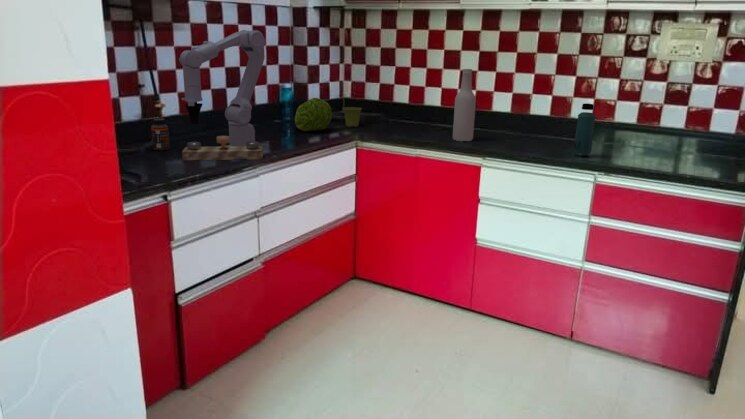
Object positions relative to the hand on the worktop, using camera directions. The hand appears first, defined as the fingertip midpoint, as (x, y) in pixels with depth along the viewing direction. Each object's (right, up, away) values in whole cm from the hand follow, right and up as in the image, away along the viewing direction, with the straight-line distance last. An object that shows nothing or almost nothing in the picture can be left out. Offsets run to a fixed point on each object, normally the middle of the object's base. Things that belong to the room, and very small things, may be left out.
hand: (195, 124), depth 203 cm
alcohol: (+103, -1, +41) cm, 111 cm away
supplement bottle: (-15, -9, +7) cm, 19 cm away
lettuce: (+36, +6, +58) cm, 68 cm away
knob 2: (+21, -11, -2) cm, 24 cm away
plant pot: (+54, +10, +72) cm, 91 cm away
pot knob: (+12, -9, -4) cm, 15 cm away
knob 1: (+2, -12, -5) cm, 13 cm away
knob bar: (+11, -12, -3) cm, 17 cm away
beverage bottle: (+144, -11, +13) cm, 145 cm away
